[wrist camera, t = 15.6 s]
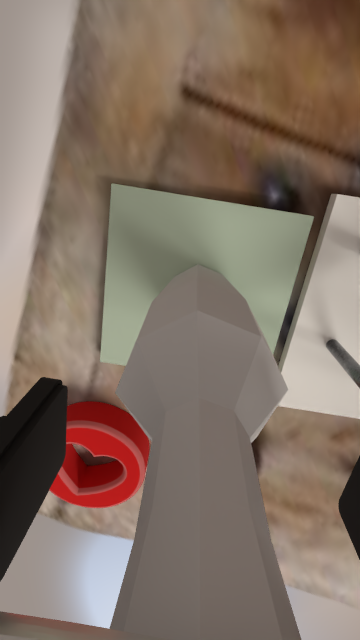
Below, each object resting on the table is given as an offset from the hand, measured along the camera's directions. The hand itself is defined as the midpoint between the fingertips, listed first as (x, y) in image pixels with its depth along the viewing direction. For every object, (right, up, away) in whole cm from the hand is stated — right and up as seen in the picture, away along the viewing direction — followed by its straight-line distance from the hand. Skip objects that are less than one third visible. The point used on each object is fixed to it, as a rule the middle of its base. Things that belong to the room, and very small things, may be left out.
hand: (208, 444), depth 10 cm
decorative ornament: (-9, -8, +20) cm, 23 cm away
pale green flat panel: (0, +6, +14) cm, 15 cm away
